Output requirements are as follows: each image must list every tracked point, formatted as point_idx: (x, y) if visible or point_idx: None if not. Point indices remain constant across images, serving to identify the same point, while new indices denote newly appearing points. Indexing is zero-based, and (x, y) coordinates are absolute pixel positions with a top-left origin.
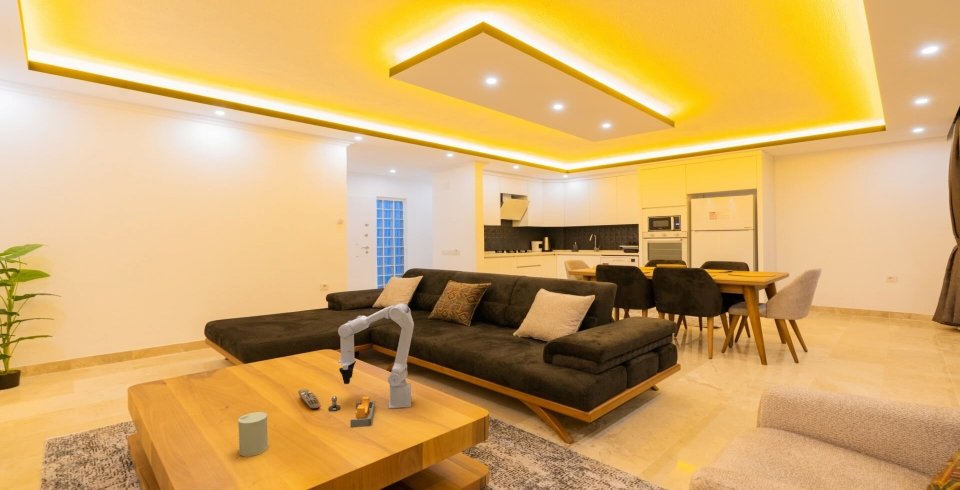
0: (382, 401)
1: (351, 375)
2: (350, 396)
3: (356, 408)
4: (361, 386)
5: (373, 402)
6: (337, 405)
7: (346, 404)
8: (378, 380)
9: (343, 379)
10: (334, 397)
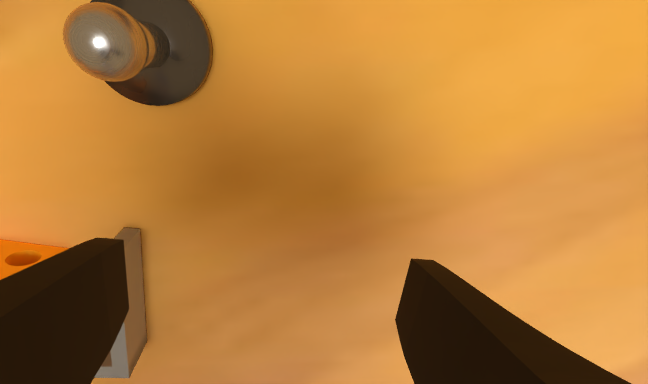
0: (243, 375)
1: (408, 350)
2: (419, 175)
3: (121, 232)
4: (592, 246)
5: (104, 370)
6: (190, 74)
7: (247, 149)
8: (637, 343)
9: (3, 285)
10: (71, 47)
